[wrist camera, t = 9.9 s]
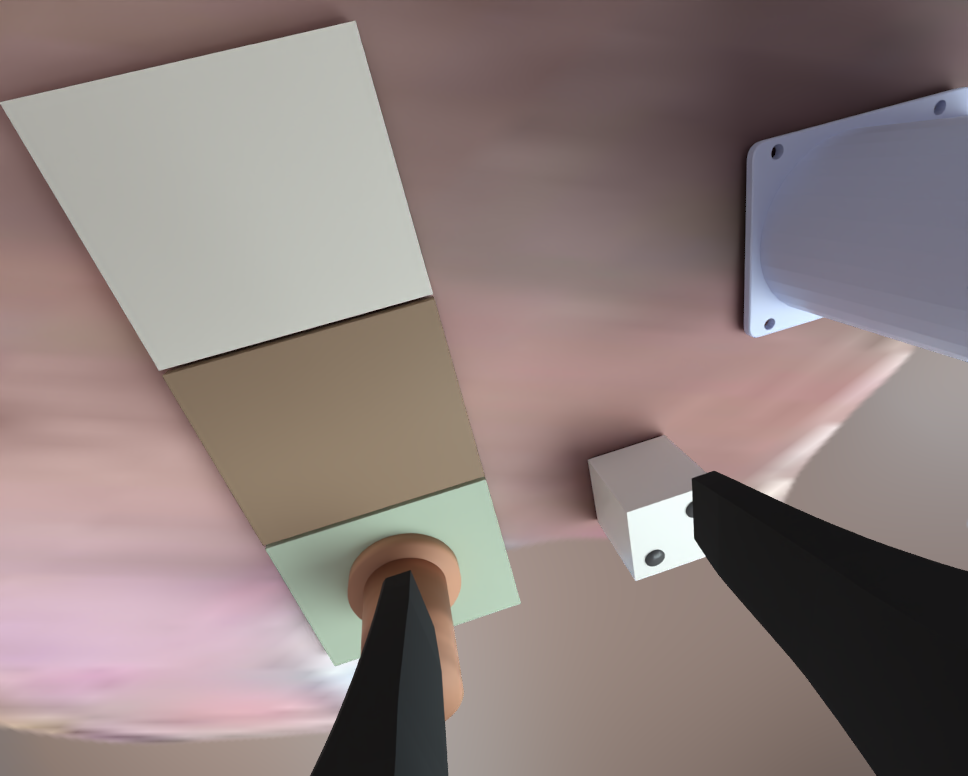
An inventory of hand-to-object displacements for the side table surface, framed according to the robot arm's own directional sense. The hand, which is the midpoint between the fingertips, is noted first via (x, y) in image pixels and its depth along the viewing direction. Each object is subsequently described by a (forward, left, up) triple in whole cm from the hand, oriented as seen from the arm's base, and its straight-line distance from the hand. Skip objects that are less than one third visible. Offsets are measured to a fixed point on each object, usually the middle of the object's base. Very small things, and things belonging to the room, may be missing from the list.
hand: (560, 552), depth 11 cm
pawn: (+6, +8, -9) cm, 13 cm away
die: (-6, +7, -10) cm, 13 cm away
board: (+6, 0, -9) cm, 11 cm away
